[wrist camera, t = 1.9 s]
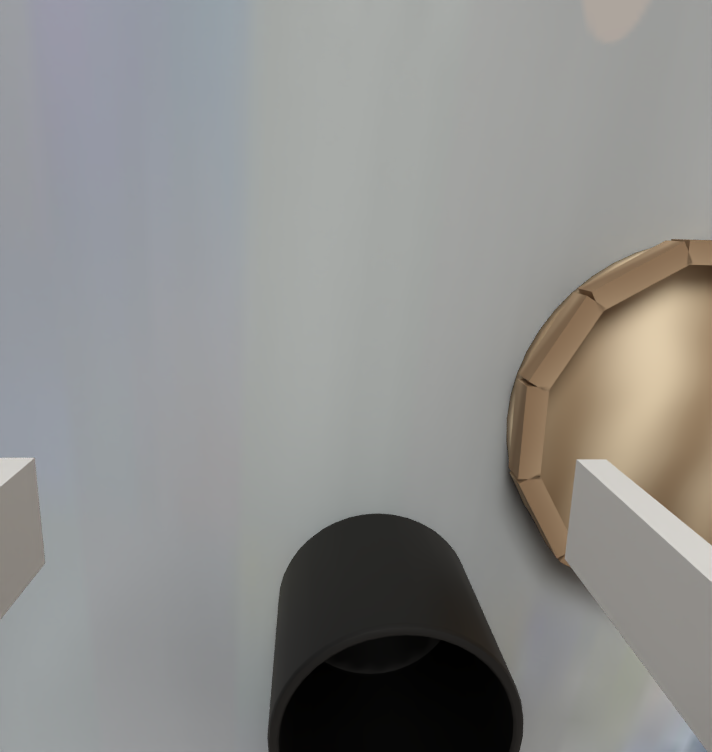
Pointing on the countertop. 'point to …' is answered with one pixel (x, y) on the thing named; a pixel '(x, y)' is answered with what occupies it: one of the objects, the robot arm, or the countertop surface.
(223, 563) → the countertop surface
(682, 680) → the robot arm
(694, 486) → the tray
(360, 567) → the mug
